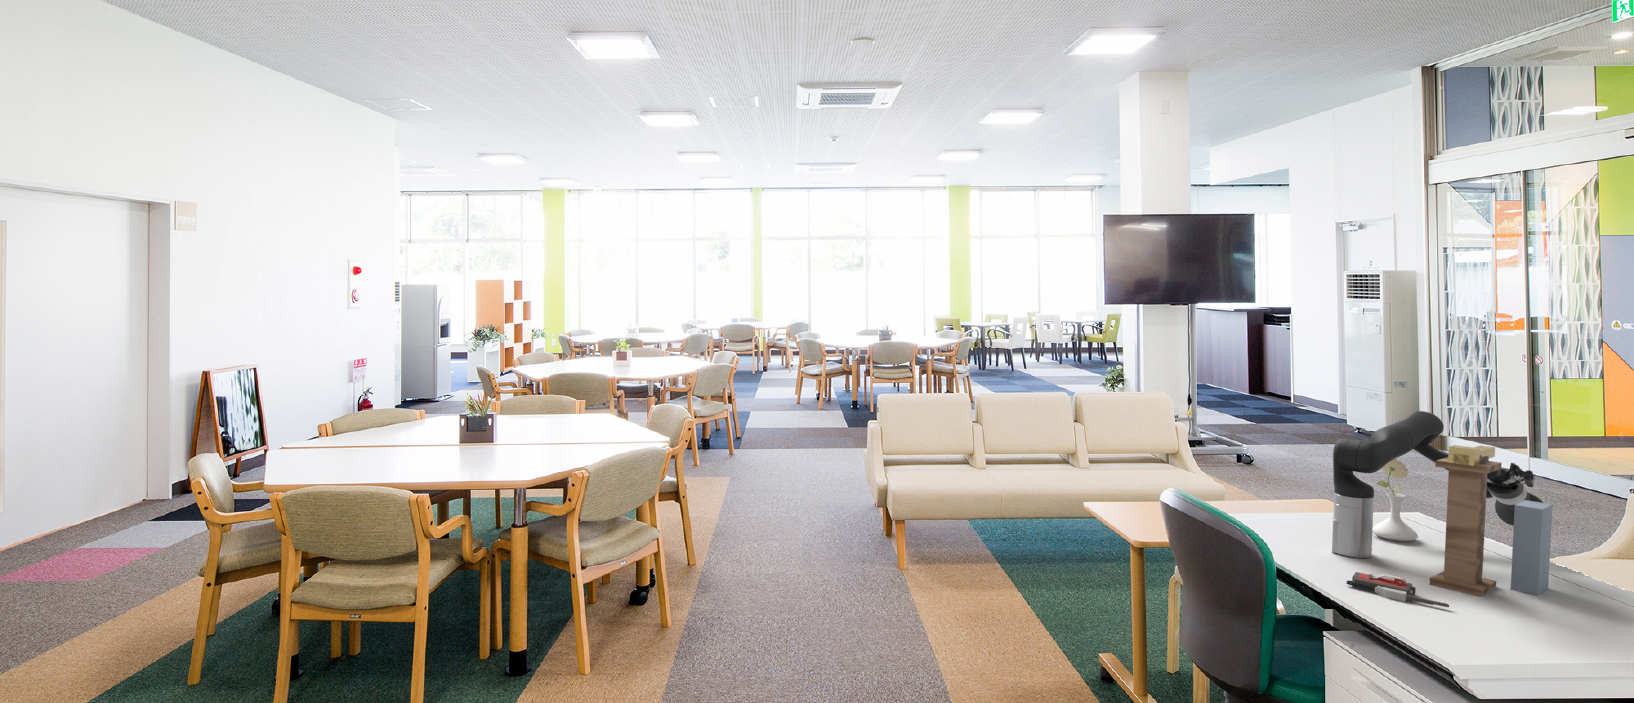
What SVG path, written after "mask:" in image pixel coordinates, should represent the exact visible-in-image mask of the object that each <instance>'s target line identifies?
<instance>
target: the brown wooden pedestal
mask: <svg viewBox="0 0 1634 703" xmlns="http://www.w3.org/2000/svg"><path fill="white" fill-rule="evenodd" d="M1434 465H1435V468H1443V469H1445V468H1449V471H1448V477H1447V480H1448V481H1447V500H1446V522H1445V541H1444V542H1445V544H1444V546H1445V547H1444V565H1443V567H1444V568H1443V570H1442V571H1441V572H1439V573H1436V574H1435V575H1434V576H1431V577H1429V585H1432V586H1436V587H1441V588H1444V589H1447V590H1448V589H1449V590H1452V591H1456V592H1460V593H1464V594H1468V595H1471V596H1477V597H1482V596H1484V595H1485V594H1487V593H1489V592H1491V591H1492V590H1494V589H1495V588H1496V587H1497V580H1494V579H1490V578H1486V577H1485V578H1484V577H1483V574H1484V573H1483V572H1484V569H1483V568H1484V550H1485V549H1484V548H1485V530H1486V527H1485V526H1486V513H1487V512H1486V508H1487V507H1486V506H1487V498H1486V491H1487V474H1488V473H1490V472H1493V471H1496V470H1499V469H1501V468H1502V462H1499V461H1490V458H1489V456H1484V457H1481V458H1480V461H1479V464H1478V465H1475V466H1471V465H1464V464H1456V463H1449V462H1448V457H1447V458H1443V459H1440V460H1436V463H1435V462H1434Z"/></svg>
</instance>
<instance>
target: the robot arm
mask: <svg viewBox="0 0 1634 703" xmlns="http://www.w3.org/2000/svg"><path fill="white" fill-rule="evenodd" d="M1443 431H1444V422H1443V421H1442V420H1441V419H1440V418H1439V416H1437V415H1436V414H1433V413H1432V412H1431V413H1430V412H1428V411H1423V410H1421V411H1420V410H1417V411H1415V412H1413V413H1411V414H1410V415H1409V416H1408V417H1406V418H1404V419H1402V420H1399V421H1396V422H1394V423H1391V424H1390V425H1386V426H1384V427H1381V428H1379V429H1377V430H1375V431H1374V432H1373V433H1372V434H1371V436H1370V439H1369V440H1363V439H1362V440H1361V439H1355V438H1346V437H1344V438H1343V437H1342V438H1339V439H1338V440H1336V442H1335V444H1334V445H1333V446H1334V447H1333V453H1332V462H1333V463H1332V465H1333V466H1332V468H1333V477H1332V478H1333V486H1334V493H1333V494H1334V495H1333V498H1334V499H1333V517H1332V518H1333V519H1332V538H1331V540H1332V542H1331V543H1332V544H1331V553H1335V554H1339V555H1341V556H1342V555H1343V556H1346V557H1351V558H1359V559H1366V558H1367V559H1368V558H1371V557H1372V552H1373V532H1372V531H1373V527H1374V506H1375V505H1374V504H1375V503H1374V501H1375V500H1374V498H1375V489H1374V487H1373V486H1372V485H1371V484H1368V483H1367V482H1364V481H1363V480H1361V479H1359V478H1358V477H1357V475H1355V473H1354V472H1356V473H1360V474H1361V473H1362V474H1375V473H1376V472H1379V471H1380V470H1382V469H1381V468H1382V467H1383V466H1385V465H1386V464H1387V463H1388V462H1390V461H1392V460H1393V459H1397V458H1400V457H1402V456H1404V455H1406V454H1407V453H1409V452H1411V451H1412V450H1414V451H1415V452H1417V453H1418V454H1421V455H1422V456H1423V457H1425V458H1426V459H1428V460H1430V461H1432V462H1433V463H1434V464H1435V463H1436V460H1440V459H1443V458H1447V457H1448V453H1445V452H1442V451H1440V450H1438V449H1436V448H1435V447H1433V446H1432V445H1431V443H1432V442H1434V441H1435V440H1436V439H1437V438H1438V437H1439V436H1440V435H1441V434H1442V433H1443ZM1444 469H1445V470H1446V471H1448V472H1449V468H1444ZM1535 480H1536V478H1535V475H1534V473H1533V471H1532V470H1528V469H1527V470H1523V469H1522V468H1521V467H1520V466H1519V465H1517V464H1516V462H1510V465H1509V469H1508V468H1502V467H1501V469H1499V470H1496V471H1493V472H1490V473H1488V474H1487V491H1486V499H1492V498H1494V499H1495V503H1494V509H1495V510H1494V511H1495V512H1496V515H1497V516H1498V518H1499V519H1500V520H1501V521H1502V522H1503V523H1505V524H1507V525H1509V526H1512V527H1514V511H1515V505H1516V504H1518V503H1520V502H1523V501H1525V500H1528V501H1534V502H1541V503H1544V502H1543V500H1542V499H1541V498H1539V497H1538V496H1536V495H1534V494H1533V493H1530V492H1528V491H1527V489H1526V487H1528V488H1534V484H1535Z"/></svg>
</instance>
